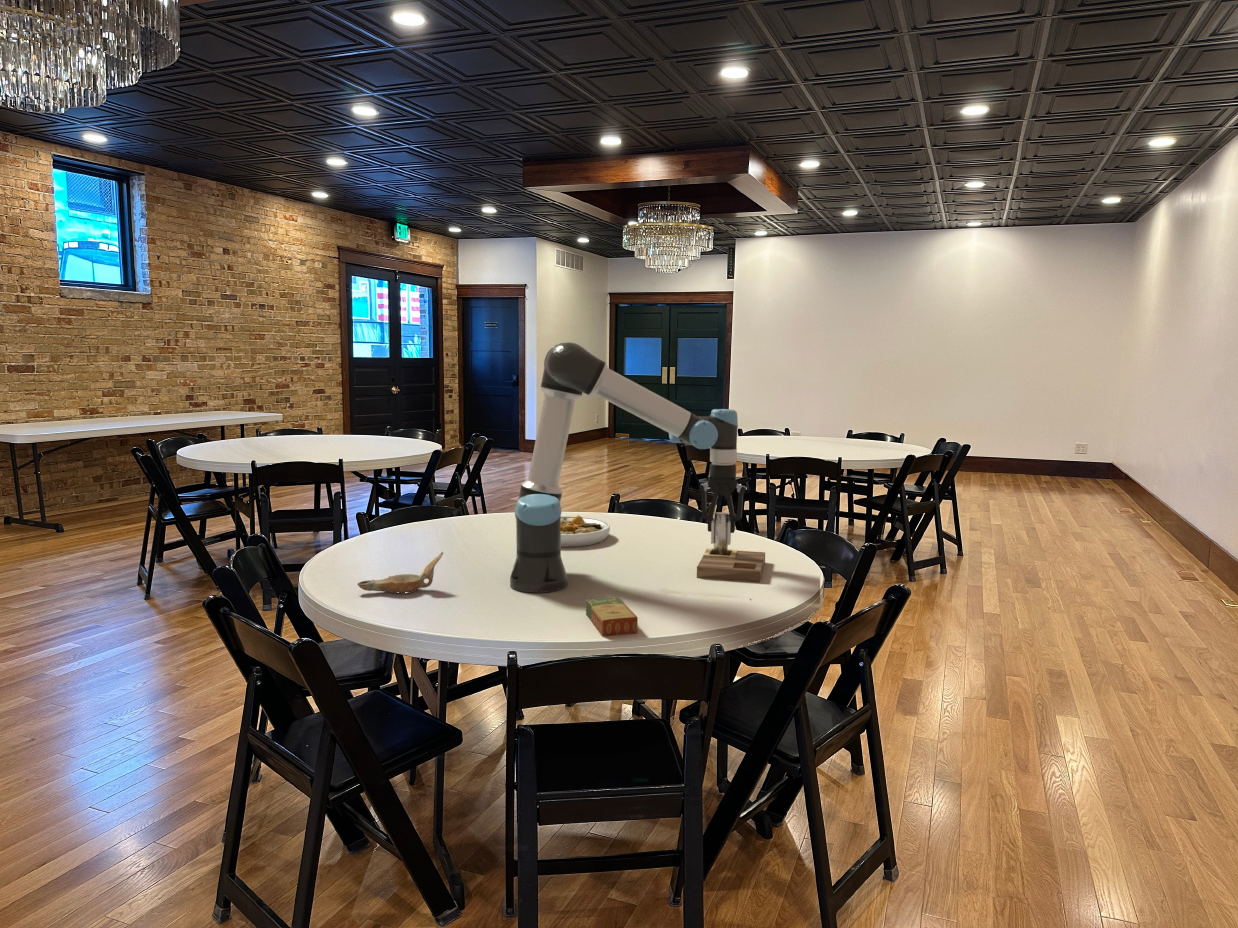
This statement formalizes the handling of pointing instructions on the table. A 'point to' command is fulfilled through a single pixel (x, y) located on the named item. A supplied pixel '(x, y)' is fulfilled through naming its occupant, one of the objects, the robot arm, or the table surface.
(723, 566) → the socket board
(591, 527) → the bowl
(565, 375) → the robot arm
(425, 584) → the oil lamp
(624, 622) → the carton
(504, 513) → the table surface
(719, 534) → the steel pin
